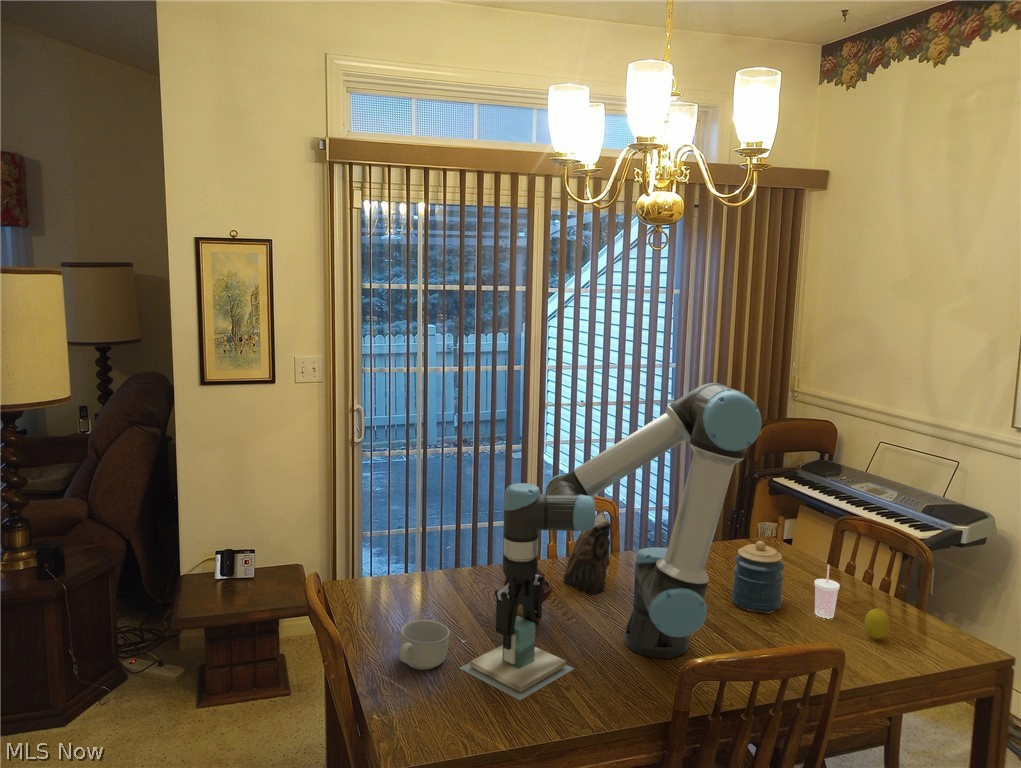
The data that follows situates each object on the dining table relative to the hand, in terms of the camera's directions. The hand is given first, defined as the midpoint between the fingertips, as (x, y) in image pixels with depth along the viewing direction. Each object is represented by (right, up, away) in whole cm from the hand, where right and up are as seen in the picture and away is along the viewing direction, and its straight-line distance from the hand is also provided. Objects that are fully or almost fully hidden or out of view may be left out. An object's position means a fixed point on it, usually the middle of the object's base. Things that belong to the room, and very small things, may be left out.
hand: (518, 656), depth 167 cm
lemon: (+88, -3, +20) cm, 90 cm away
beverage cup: (+80, -1, +32) cm, 87 cm away
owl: (+20, +3, +48) cm, 52 cm away
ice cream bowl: (+3, 0, +24) cm, 25 cm away
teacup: (-22, -3, +1) cm, 22 cm away
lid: (0, -2, 0) cm, 2 cm away
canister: (+65, 0, +38) cm, 75 cm away
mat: (0, -3, 0) cm, 3 cm away
